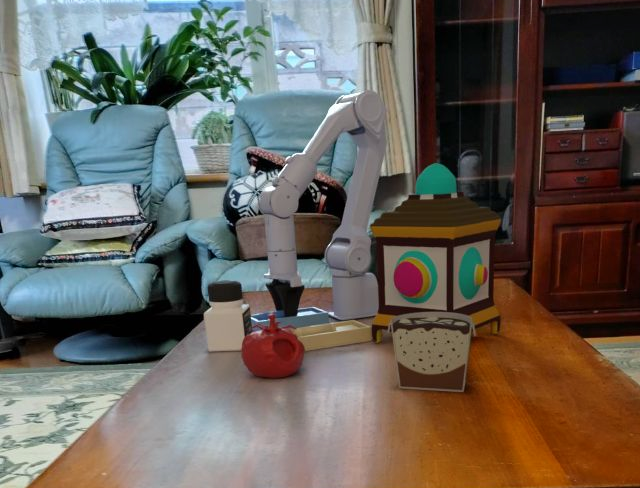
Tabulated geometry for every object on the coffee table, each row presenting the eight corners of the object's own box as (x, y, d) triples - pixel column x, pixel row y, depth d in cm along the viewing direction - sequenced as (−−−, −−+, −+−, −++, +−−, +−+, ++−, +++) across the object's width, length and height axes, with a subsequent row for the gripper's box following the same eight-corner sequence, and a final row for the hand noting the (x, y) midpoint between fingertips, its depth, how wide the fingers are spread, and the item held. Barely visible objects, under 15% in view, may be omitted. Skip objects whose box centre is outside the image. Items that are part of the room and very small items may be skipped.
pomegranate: (232, 380, 105) (225, 320, 102) (262, 363, 114) (256, 308, 110) (289, 384, 102) (284, 322, 98) (316, 366, 110) (312, 309, 107)
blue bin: (314, 318, 147) (314, 306, 146) (328, 324, 140) (328, 312, 140) (247, 328, 141) (245, 315, 140) (258, 334, 135) (257, 321, 134)
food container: (482, 380, 99) (483, 312, 96) (474, 392, 94) (475, 321, 90) (400, 375, 103) (399, 310, 100) (389, 387, 98) (387, 318, 94)
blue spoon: (312, 319, 145) (311, 304, 143) (318, 322, 142) (317, 307, 140) (256, 326, 140) (255, 312, 139) (262, 329, 137) (260, 314, 136)
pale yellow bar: (352, 334, 130) (351, 318, 129) (360, 337, 127) (359, 321, 126) (292, 343, 125) (290, 326, 124) (299, 347, 122) (297, 330, 121)
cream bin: (354, 333, 132) (353, 319, 131) (372, 340, 126) (371, 326, 125) (280, 344, 126) (279, 330, 125) (295, 352, 120) (294, 338, 119)
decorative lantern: (456, 357, 112) (458, 161, 101) (360, 344, 123) (352, 167, 113) (510, 332, 127) (516, 159, 116) (420, 323, 138) (418, 164, 127)
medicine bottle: (247, 350, 123) (239, 283, 118) (207, 352, 123) (199, 285, 119) (253, 341, 129) (247, 277, 125) (216, 342, 129) (208, 279, 125)
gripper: (251, 249, 140) (257, 314, 145) (274, 255, 128) (280, 326, 132) (283, 246, 143) (289, 310, 148) (309, 251, 130) (314, 321, 135)
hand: (287, 318), depth 140 cm, fingers open, 4 cm apart
